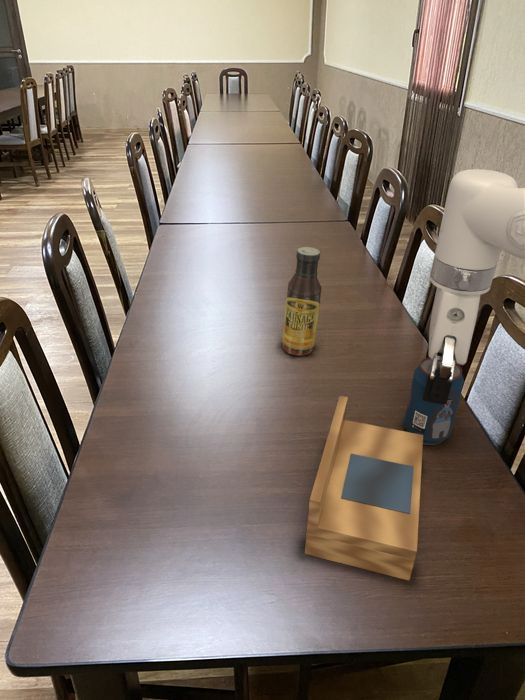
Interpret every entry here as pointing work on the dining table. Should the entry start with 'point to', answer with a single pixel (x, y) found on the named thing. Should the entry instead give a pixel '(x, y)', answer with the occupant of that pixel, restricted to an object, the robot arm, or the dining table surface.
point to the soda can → (432, 406)
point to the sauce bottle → (302, 304)
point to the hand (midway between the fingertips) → (434, 382)
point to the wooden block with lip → (366, 497)
